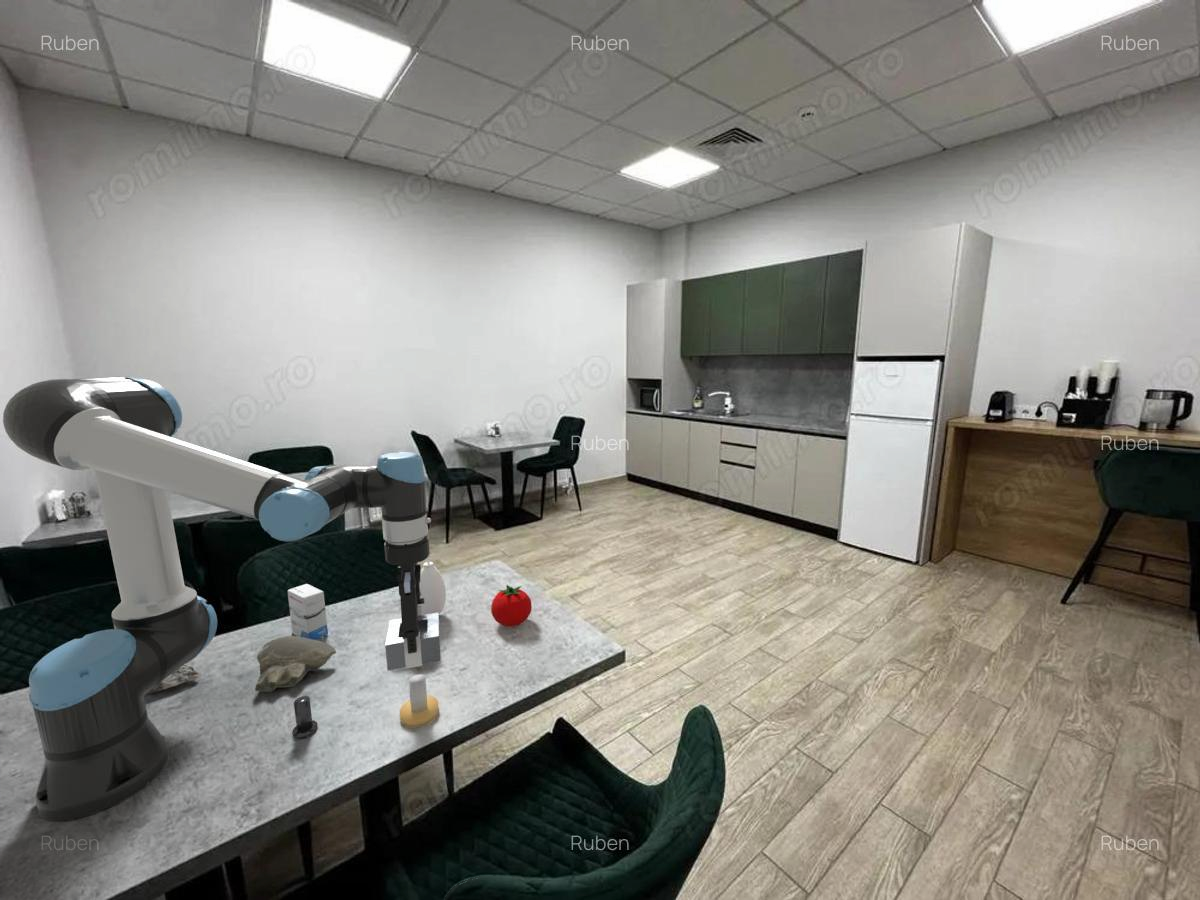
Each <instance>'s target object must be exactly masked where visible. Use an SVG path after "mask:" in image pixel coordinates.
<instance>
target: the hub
mask: <svg viewBox="0 0 1200 900" xmlns="http://www.w3.org/2000/svg"><path fill="white" fill-rule="evenodd" d="M408 686H409V687H408V689H409V690H408V691H409V699H408V700H407V701H406V702H404V703H403V704H402V705H401V707H400V709H399V720H400V723H401V724H402V725H404V727H407V728H418V727H423V726H425V725H427V724H430V723H432V721H434V720H435V719H436V718H437V716H438V715H439V710H440V708H439V700H438V699H437V698H436V697H435V696H433V695H428V693H427V682H426V676H425V674H415V675H413V676H411V677H410V678H409V679H408Z"/></svg>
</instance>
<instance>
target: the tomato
mask: <svg viewBox="0 0 1200 900" xmlns="http://www.w3.org/2000/svg"><path fill="white" fill-rule="evenodd" d="M521 587H522V585H520V586H517V587H512V586H510V585H509V584H506V589H505V588H504V589H502V590H501V589H500V590H499V589H498V591H499V592H497V594H496V595H495V596H494V598H493V599H492V601H491V607H490V609H491V615H492V617H493V619H494V620H495V622H497V623H498V624H499V625H501V626H504V627H508V628H512V627H513V628H514V627H516V626H519V625H522V624H523V623H524V622H525V621H527V619H529V616H530V615H531V612H532V601H531V597H530V595H528V593H527V592H525V591H524V590H522V589H520V588H521Z"/></svg>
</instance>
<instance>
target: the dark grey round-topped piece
mask: <svg viewBox="0 0 1200 900" xmlns="http://www.w3.org/2000/svg"><path fill="white" fill-rule="evenodd" d="M311 706H312V705H311V698H310V696H308V695H303V696H300V697H298V698H296V699H295V700H294V701H293V708H294V716H295V717H294V718H295V726H294V727H293V728H292V732H291V733H292V737H293V739H295V740H302V739H306V738H308V737H311V736H313V734H315V733H316V732H317V730H318V728H319V727H318V725H319V724H318V722H317V721H316V720H314V719H313V717H312V707H311Z"/></svg>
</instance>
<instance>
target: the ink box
mask: <svg viewBox="0 0 1200 900" xmlns="http://www.w3.org/2000/svg"><path fill="white" fill-rule="evenodd" d="M287 598H288V607H289V616H290V625H291V633H292V634H293V636H299V637H304V638H308V639H313V640H319V639H321V638H323V637H326V636H327V635H329V630H328V621H327V611H326V604H325V603H326V601H325V593H324V591H323V590H321V589H319V588H317V587H314V586H313V585H311V584H308V583H305V584H302V585H301V584H300V585H299V586H296V587H292V588H290V589H288V590H287Z"/></svg>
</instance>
